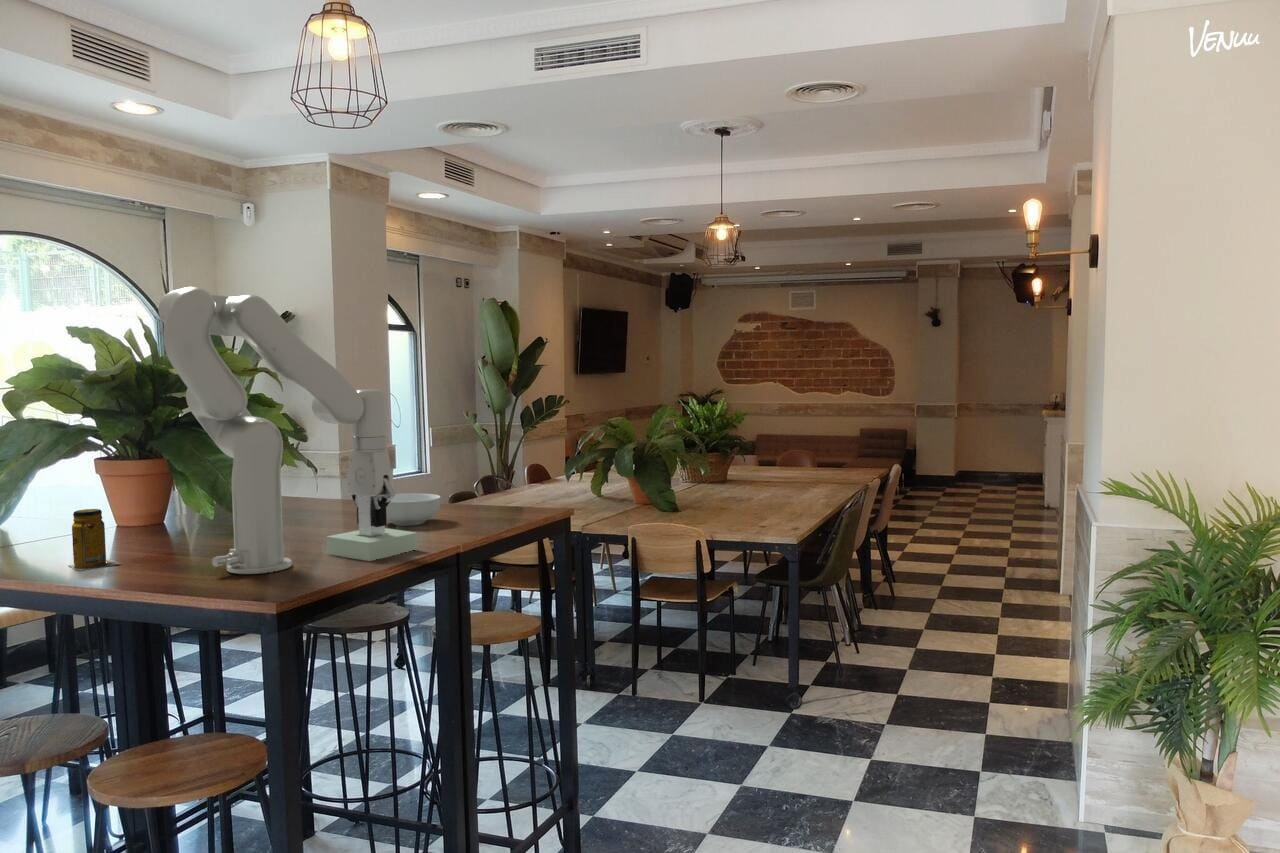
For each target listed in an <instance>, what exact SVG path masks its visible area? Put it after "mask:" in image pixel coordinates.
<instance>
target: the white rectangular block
mask: <svg viewBox="0 0 1280 853" xmlns="http://www.w3.org/2000/svg"><path fill="white" fill-rule="evenodd" d="M380 494H381V493H380ZM378 495H379V494H378ZM380 500H381V497H380V498H379V501H380ZM373 509H376V508H375V504H374V499H373V496H362V495H358V517H359V525H358V530H359V536H362V537H369V538H372V537H377V536H382V535H385V528H386V525H385V526H380V527H374V517H373Z"/></svg>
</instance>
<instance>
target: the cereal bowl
mask: <svg viewBox="0 0 1280 853" xmlns="http://www.w3.org/2000/svg"><path fill="white" fill-rule="evenodd" d="M441 500H442V498H441V495H438V494H433V493H416V492H413V493H411V492H409V493H408V492H407V493H395V497H394V498H393V499H392V500H391V501H390V503H389V504H388V508H386V520H387V521H388V522H391V523H392V525H396V526H417V525H422V524H424V523H425V522H426V521H428V520H430V519H433V518H434V517H436V515H437V514H438V513H439V511H440V508H441V502H442V501H441Z"/></svg>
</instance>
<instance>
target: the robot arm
mask: <svg viewBox="0 0 1280 853" xmlns="http://www.w3.org/2000/svg"><path fill="white" fill-rule="evenodd" d="M157 308H158V315H159V318H160V319H161V321H162V322H163V324H164V326H163V344H164V345H163V347H164V350H165V353H166V356H167V358H168V361H169V362H170V364H171V366H172V368H173V369H174V371H176V373H177V374H178V376H179V378H180V379H181V381H182V382H183V383H184V385H185V386H186V387H187V389H186V392H185V400H186V404H187V406H188V408H189V410H190V412H191V414H192V415H193V416H194V417H195V419H196V420H197V422H198V423H199V424H200V425H201V427H202V428H203V429H204V431H205V432H206V433H207V435H208V436H209V437H210V438H211V440H212V441H213V443H215V445H216V446H217V448H219V449H220V451H221V452H223V454H224V455H226V456H228V457H229V458H231V459H232V460H233V463H232V469H231V499H232V502H231V503H232V523H233V524H232V526H233V548H229V552H228V553H227V554H226V555H220V556H219V555H218V556H215V557H214V556H213V558H212V560H211V564H212V566H214V567H221V566H224V565H226V570H227V572H229V573H230V574H237V575H258V574H269V573H275V572H279V571H283V570H286V569H289V568H290V567H292V563H293V561H292V559H291V558H289V557H284V532H283V530H284V529H283V528H284V527H283V506H282V504H283V503H282V502H283V501H282V482H281V480H282V477H281V476H282V475H281V474H282V473H281V472H282V461H283V453H284V452H283V450H284V441H283V437H282V436H283V435H282V433H281V431H280V429H279V428H278V427H277V425H276V424H274V423H273V422H272V421H270V420H269V419H267V418H263V417H259V416H253V415H252V414H251V412H250V411H249V410H248V408H247V406H248V394H247V391H246V389H245V388H244V386H243V384H242V383H241V381H240V380H239V379H238V377H236V376H235V374H234V373H233V372H232V370H231V369H230V368H229V366H228V365H227V364H226V362H225V361H224V359H223V358H222V356H221V355H220V353H219V351H217V349H216V347H215V346H214V343H213V341H212V337H211V335H213V336H224V337H242V339H243V340H244V341H245V342H246V343H247V344H248V345H249V346H250V347H251V348H252V350H254V352H256V353H257V354H258V355H259V356H260V357H261V359H262V360H264V362H265V363H266V364H267V365H268V366H269V367H270V369H272V370H273V371H274V372H275V373H277V374H278V375H279V376H280V377H283V378H285V379H287V380H289V381H291V382H292V383H295V384H297V385H299V386H300V387H302V388H303V389H305V390H306V391H307V392H308V393H310V394H311V395H312V396H313V399H312V402H311V411H312V413H313V414H314V416H315V417H316V418H317V419H318V420H320V421H322V422H324V423H327V424H333V425H342V426H343V425H344V426H345V425H346V426H348V425H351V446H352V449H350V453H349V458H348V463H347V464H348V466H347V493H348V494H349V495H350V496H351V498H352V500H353V502H354V506H355V508H356V523H357V525H358V526H359V517H358V495H362V496H373V499H374V504H375V508H376V509H373V517H374V527H380V526H385V527H386V526H387V524H388V523H387V521H388V520H386V508H388V504H389V503H390V501H391V500H392V499H393V498H394V497H395V494H396V493H395V491H394V489H393V484H392V483H393V480H392V479H393V478H392V466H391V459H390V454H389V451H388V436H387V434H388V432H387V428H388V427H387V398H386V394H385V391H384V390H382V389H380V388H379V389H377V388H376V389H375V388H369V389H368V388H367V389H356V388H355V387H354V386H353V385H352V384H351V383H350V381H348V380H347V378H346V377H345V376H344V375H342V373H341V372H340V371H339V370H338V369H337V368H335V367H334V366H333V365H332V364H331V363H330V362H328V361H327V360H325V359H324V358H323V356H321V355H320V354H319V353H318V352H316V351H315V350H314V349H312V348H311V347H310V346H308V344H306V343H305V342H304V340H302V339H301V338H300V336H299V335H298V334H297V333H296V331H294V329H293V328H291V326H290V325H288V323H287V322H286V321H285V320H284V319H283V318H282V316H281V315H280V314H279V313H278V312H277V311H276V310H275V309H274V308H273V306H272V305H271V304H269V303H268V301H266V300H265V299H264V298H262V297H261V296H258V295H255V294H244V295H243V294H242V295H238V296H233V295H231V296H229V295H219V294H210V293H209V291H207V290H205V289H204V288H200V287H199V286H198V287H197V286H187V287H182V288H178V289H174V290H171V291H169V292H168V293H166V294H165V295H164V296H162V298H161V299H160V301H159V303H158V307H157ZM380 493H381V494H380ZM378 494H379V495H378ZM380 497H381V500H380V501H379V498H380ZM274 571H275V572H274ZM268 572H269V573H268Z"/></svg>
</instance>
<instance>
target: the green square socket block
mask: <svg viewBox="0 0 1280 853" xmlns="http://www.w3.org/2000/svg"><path fill="white" fill-rule="evenodd" d="M418 540H419V538H418V532H415V531H409V530H408V531H407V530H401V529H394V528H386V527H385V535H382V536H377V537H372V538H369V537H362V536H359V529H358V530H353V531H349V532H343V533H338V534H332V535H327V536H326V555H329V556H336V557H340V558H341V557H342V558H348V559H354V560H358V561H359V560H360V561H366V562H370V561H371V562H372V561H376V559H377V560H380V559H384V558H389V557H393V555H394V556H397V554H398V555H401V554H400V553H403V552H407V551H411V550H415V549H418V550H419V546H418V544H419V543H418ZM411 552H412V551H411ZM407 553H408V552H407ZM403 554H404V553H403Z"/></svg>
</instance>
